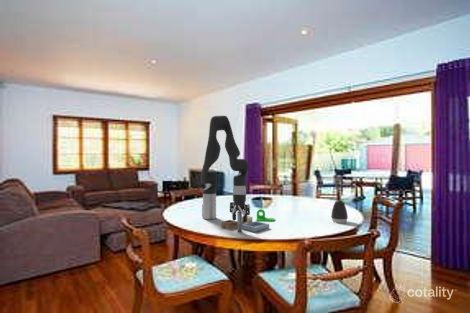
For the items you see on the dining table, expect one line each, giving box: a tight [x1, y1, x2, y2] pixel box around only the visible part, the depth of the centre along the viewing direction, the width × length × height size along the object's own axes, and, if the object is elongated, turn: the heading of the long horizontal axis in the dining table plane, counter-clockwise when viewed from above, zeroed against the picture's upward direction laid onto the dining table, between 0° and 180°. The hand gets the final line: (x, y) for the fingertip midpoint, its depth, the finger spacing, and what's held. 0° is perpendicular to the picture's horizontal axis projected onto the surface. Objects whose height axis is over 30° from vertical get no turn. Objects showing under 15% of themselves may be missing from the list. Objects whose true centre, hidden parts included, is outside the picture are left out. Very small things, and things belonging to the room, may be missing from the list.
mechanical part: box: [256, 208, 276, 223], centre depth 199 cm, size 12×6×8 cm, turn 83°
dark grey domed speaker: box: [330, 199, 349, 224], centre depth 194 cm, size 10×10×15 cm
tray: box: [242, 220, 270, 234], centre depth 177 cm, size 11×13×3 cm
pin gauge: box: [236, 211, 243, 234], centre depth 171 cm, size 3×3×12 cm
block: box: [242, 215, 253, 224], centre depth 185 cm, size 5×5×6 cm
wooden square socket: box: [221, 219, 237, 231], centre depth 180 cm, size 7×7×4 cm
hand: (239, 221), depth 170 cm, fingers open, 8 cm apart
